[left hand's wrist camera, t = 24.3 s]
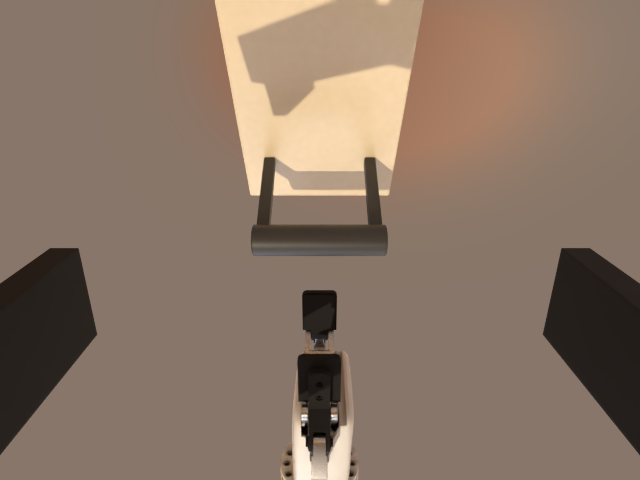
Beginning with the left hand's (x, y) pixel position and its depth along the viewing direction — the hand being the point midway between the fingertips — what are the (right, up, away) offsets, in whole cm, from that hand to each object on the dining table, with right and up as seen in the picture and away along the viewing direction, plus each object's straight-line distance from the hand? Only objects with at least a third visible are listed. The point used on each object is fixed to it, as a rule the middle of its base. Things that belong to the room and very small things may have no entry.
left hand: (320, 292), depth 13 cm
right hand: (0, -5, +25) cm, 26 cm away
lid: (0, +11, +12) cm, 16 cm away
